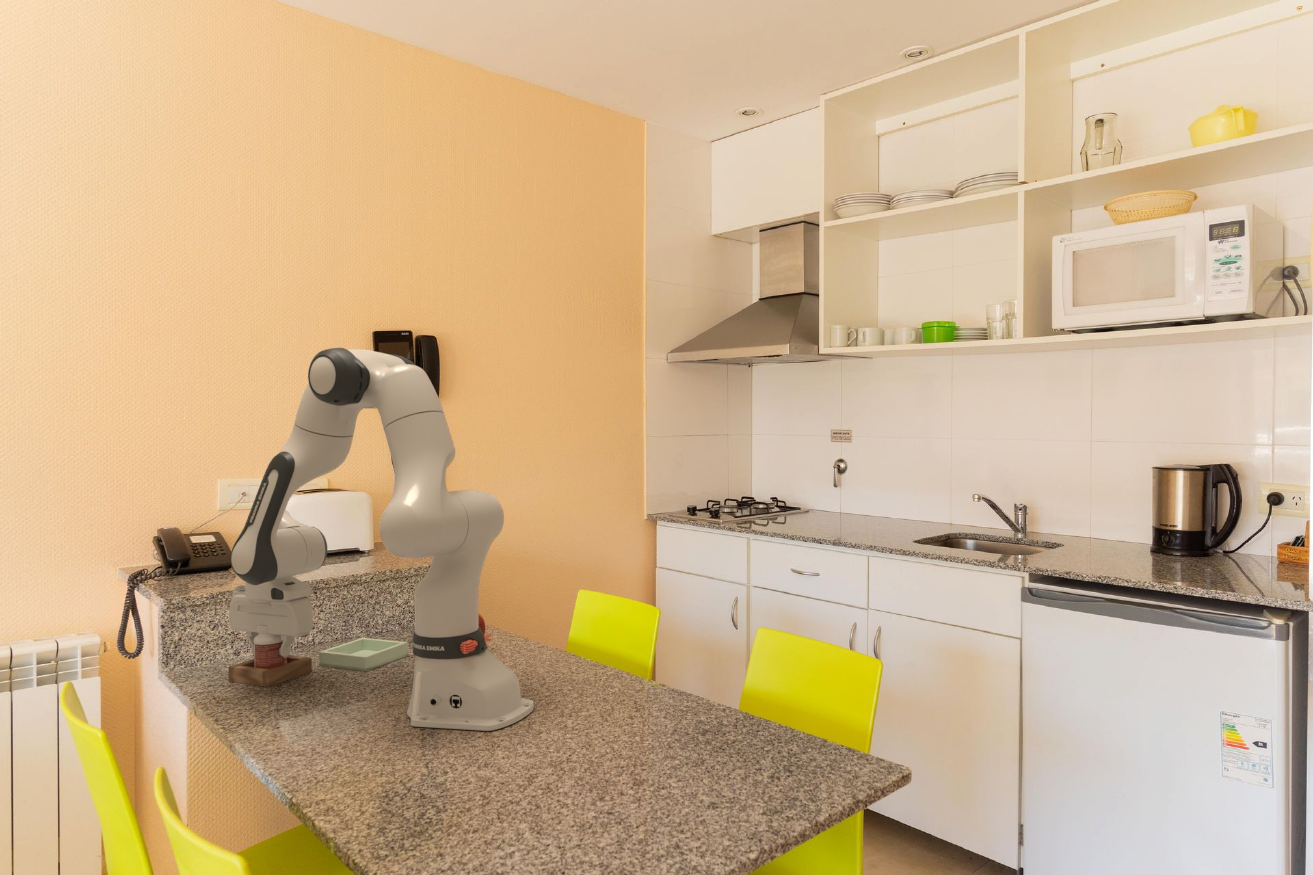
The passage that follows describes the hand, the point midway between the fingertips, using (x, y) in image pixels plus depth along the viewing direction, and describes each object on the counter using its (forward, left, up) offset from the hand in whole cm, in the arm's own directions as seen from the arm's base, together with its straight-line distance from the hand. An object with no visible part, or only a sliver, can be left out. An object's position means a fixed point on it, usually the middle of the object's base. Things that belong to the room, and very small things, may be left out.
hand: (270, 654), depth 167 cm
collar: (0, 0, -5) cm, 5 cm away
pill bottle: (0, 0, -5) cm, 5 cm away
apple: (-28, -28, -5) cm, 40 cm away
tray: (-10, -16, -5) cm, 19 cm away
